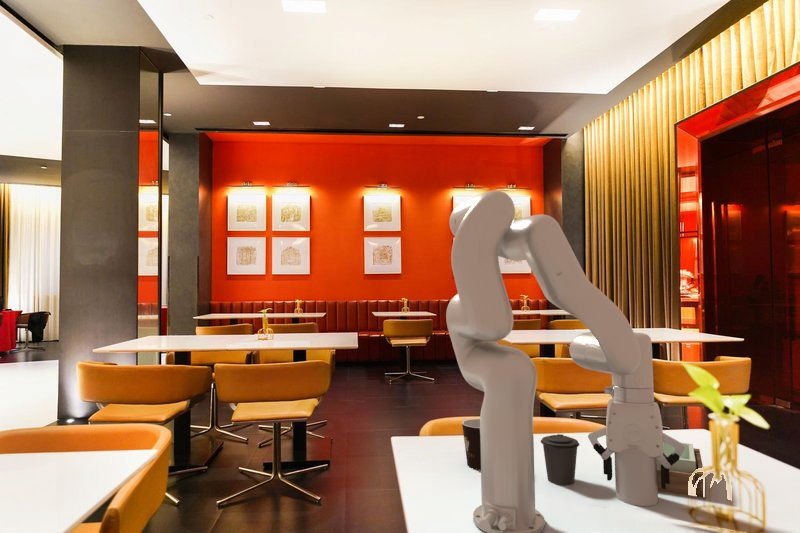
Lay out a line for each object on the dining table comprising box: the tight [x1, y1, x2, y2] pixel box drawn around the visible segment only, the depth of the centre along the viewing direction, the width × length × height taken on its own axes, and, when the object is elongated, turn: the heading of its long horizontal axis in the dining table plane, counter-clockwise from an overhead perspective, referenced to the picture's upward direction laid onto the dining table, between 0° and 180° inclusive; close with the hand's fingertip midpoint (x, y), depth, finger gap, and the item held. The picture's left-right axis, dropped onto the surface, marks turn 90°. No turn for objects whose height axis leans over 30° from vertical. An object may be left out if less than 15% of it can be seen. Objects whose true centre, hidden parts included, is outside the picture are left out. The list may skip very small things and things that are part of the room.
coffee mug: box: [461, 418, 481, 471], centre depth 117 cm, size 12×9×10 cm
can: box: [613, 445, 659, 507], centre depth 97 cm, size 8×8×12 cm
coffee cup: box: [540, 433, 580, 486], centre depth 107 cm, size 8×8×10 cm
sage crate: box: [656, 442, 696, 473], centre depth 108 cm, size 13×13×6 cm
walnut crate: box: [657, 447, 707, 499], centre depth 108 cm, size 18×16×5 cm
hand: (636, 482), depth 97 cm, fingers open, 9 cm apart
